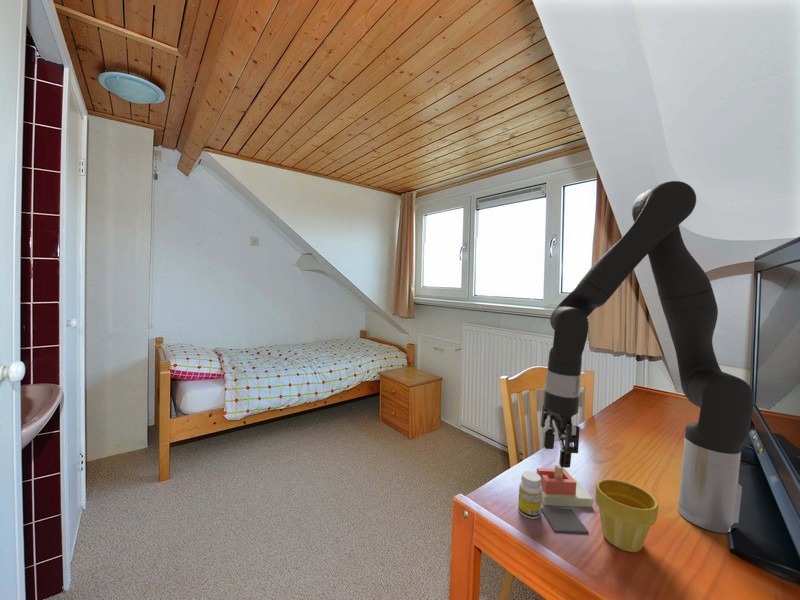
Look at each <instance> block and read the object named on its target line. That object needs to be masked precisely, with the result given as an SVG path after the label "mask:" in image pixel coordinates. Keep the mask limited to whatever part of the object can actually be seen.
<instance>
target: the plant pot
mask: <svg viewBox="0 0 800 600" xmlns="http://www.w3.org/2000/svg"><path fill="white" fill-rule="evenodd" d="M595 502H596V505H597V507H598V509H599V515H600V523H601V529H602V535H603V536H604V538H605V539H606V540H607V541H608V542H609V543H610V544H611V545H613V546H614V547H616V548H617V549H620V550H622V551H626V552H630V553H638V552H640V551H641V550H642V549H643V547H644V546H643V545H644V543H645V541H646V538H647V536H648V533H649V531H650V529H651V526H653V525H655V524H656V522H657V519H658V512H659V503H658V500H657V499H656V497H654V496H653V495H652V494H651V493H650V492H648V491H647V490H646V489H644V488H642V487H640V486H638V485H637V484H633V483H630V482H628V481H625V480H620V479H616V478H615V479H614V478H604V479H601V480H599V481H597V483H596V485H595Z"/></svg>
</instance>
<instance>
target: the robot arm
mask: <svg viewBox="0 0 800 600" xmlns="http://www.w3.org/2000/svg"><path fill="white" fill-rule="evenodd" d="M696 205H697V194H696V192H695V190H694V188H693V187H692V186H691V185H690V184H688V183H686V182H684V181H680V180H671V181H666V182H663V183H659V184H657V185H656V186H652V187H651V188H649V189H647V190H645V191H644V192H642V193H641V194H639V195H638V196H637V197H636V198H635V200H634V202H633V203H632V207H631V214H632V215H631V216H632V219H633V221H634V222H633V224H632V225H631V226H630V227H629V229H628V230H627V231H626V232H625V233H624V234H623V236H622V237H621V238H620V239H619V240H618V241H617V242H616V243H614V245H613V246H611V247H610V248H609V250H607V251H606V252H605V253H604V254H602V256H601V257H600V258H599V259H598V260H597V261H596V262H594V263H593V265H592V267H590V268H589V270H588V271H587V273H586V274H585V275H584V276H583V277H582V278H581V280H580V281H579V282H578V284H577V285H576V287H575V288H573V290H572V291H571V292H570V293H569V294H568V295H566V297H564V299H563V300H562V301H561V302H560V303H559V304H558V305H557V306H556V307H555V309H554V310H553V311H552V313H551V314H550V318H549V321H550V326H551V328H552V329H553V330H554V331H553V333H554V334H553V342H552V347H551V348H550V350H549V353H548V362H547V370H546V371H547V373H546V376H545V385H544V394H543V395H544V396H543V405H542V411H541V419H540V426H541V428H543V433H544V438H543V439H544V441H543V447H544V448H545V449H546V450H553V449H554V447H555V446H554V445H555V439H556V440H557V441H558V442H559V448H560V451H559V461H558V462H559V463H558V465H560V466H561V467H563V468H565V469H567V468H570V467H571V463H572V462H571V461H572V454H578V453H579V447H580V446H579V444H580V426H579V425H573V421H572V417H573V416H575V415H577V414H578V413H579V409H580V407H579V406H580V398H581V389H582V388H581V387H582V386H581V385H582V383H581V379H582V378H581V374H582V363H583V358H582V357H583V352H584V350H585V347H586V342H587V340H588V334H589V319H588V317H589V316H590V315H591V314H592V313H593V311H595V310H596V309H597V308H600V307H603V306H604V305H605V303H607V302H608V301H609V300H610V298H611V297H612V296H613V294H614V293H615V292H616V291H617V290H618V288H620V286H621V285H622V283H623V282H624V281H625V280H626V279H627V278H628V277H629V275H630V274H631V273H632V272H633V271H634V269H635V268H636V267H637V266H638V265H639V264H640V263H641V262H642V261H643V259H645V257H646V256H648V260H649V265H650V267H651V272H652V276H653V278H654V281H655V285H656V289H657V293H658V297H659V300H660V305H661V308H662V311H663V314H664V317H665V321H666V323H667V328H668V331H669V334H670V338H671V340H672V344H673V347H674V351H675V355H676V361H677V368H678V375H679V380H680V386H681V391H682V393H683V394H684V396H685V397H686V399H687V400H688V401H689V402H690V403H691V404H693V405H695V406H696V407H698V408H700V410H699V415H698V421H697V422H691V423H688V424H687V425H686V426H685V429H684V441H683V442H684V443H683V450H682V451H683V453H682V462H681V463H682V464H681V470H680V471H681V473H680V484H679V494H678V505H677V510H678V513H679V515H681V516H682V517H683V518H684V519H685V520H686V521H688V522H690V523H691V524H694V525H695V526H697V527H700V528H701V529H705V530H707V531H710V532H713V533H718V534H729V533H728V530H729V527H731V526H732V525H733V524H734V523H738V524H739V520H740V518H739V517H740V509H741V499H742V491H743V487H742V485H741V484H739V473H740V468H741V466H740V465H741V457H742V448H743V445H744V443H745V442H746V441H747V439H748V438H749V434H750V430H751V423H752V417H753V413H754V406H755V405H754V404H755V397H754V393H753V389H752V388H751V386H750V384H749V383H747V381H745V380H744V379H742V378H740V377H737V376H735V375H734V374H730V373H727V372H724V371H722V369H721V367H720V366H719V362H718V360H717V357H716V354H715V351H714V346H713V337H714V332H715V329H716V325H717V320H718V316H719V311H718V310H719V309H718V308H719V307H718V304H717V300H716V297H715V293H714V289H713V286H712V283H711V281H710V279H709V277H708V275H707V273H706V272H705V271H704V269H703V268H702V266H701V265H700V264H699V263H698V261H697V260H696V259H695V258H694V257H693V255H692V254H691V253H690V251H689V250H688V249H687V246H686V244H685V243H684V239H683V237H682V233H681V230H680V224H682V223H683V222H684V221H685V220H686V219H687V218H688V217H689V216H690V215H691V214H692V213H693V211H694V209H695V207H696Z"/></svg>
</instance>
